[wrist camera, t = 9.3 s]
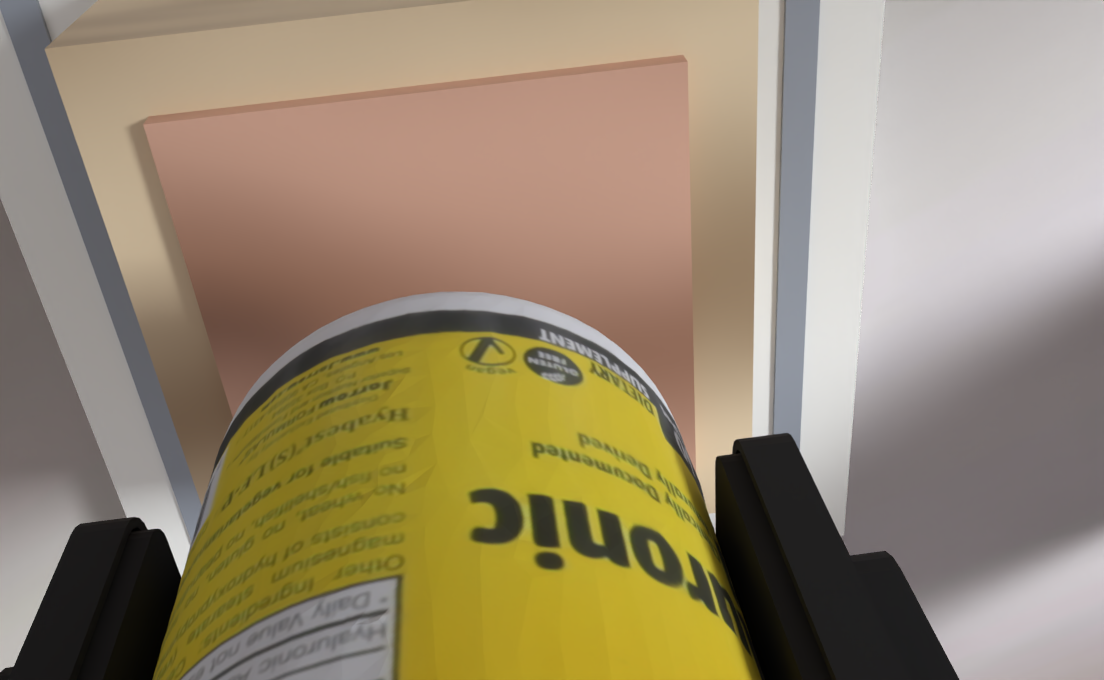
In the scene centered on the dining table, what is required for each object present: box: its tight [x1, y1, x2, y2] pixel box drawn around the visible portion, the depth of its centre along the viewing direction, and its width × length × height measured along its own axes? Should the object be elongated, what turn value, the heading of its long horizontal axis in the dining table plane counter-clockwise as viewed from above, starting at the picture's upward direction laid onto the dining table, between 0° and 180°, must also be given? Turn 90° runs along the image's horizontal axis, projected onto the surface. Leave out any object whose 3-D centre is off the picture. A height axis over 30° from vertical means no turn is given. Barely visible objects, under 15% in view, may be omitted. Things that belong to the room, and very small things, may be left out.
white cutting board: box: [0, 0, 885, 578], centre depth 20 cm, size 20×16×2 cm
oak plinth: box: [45, 0, 759, 514], centre depth 18 cm, size 9×9×5 cm
